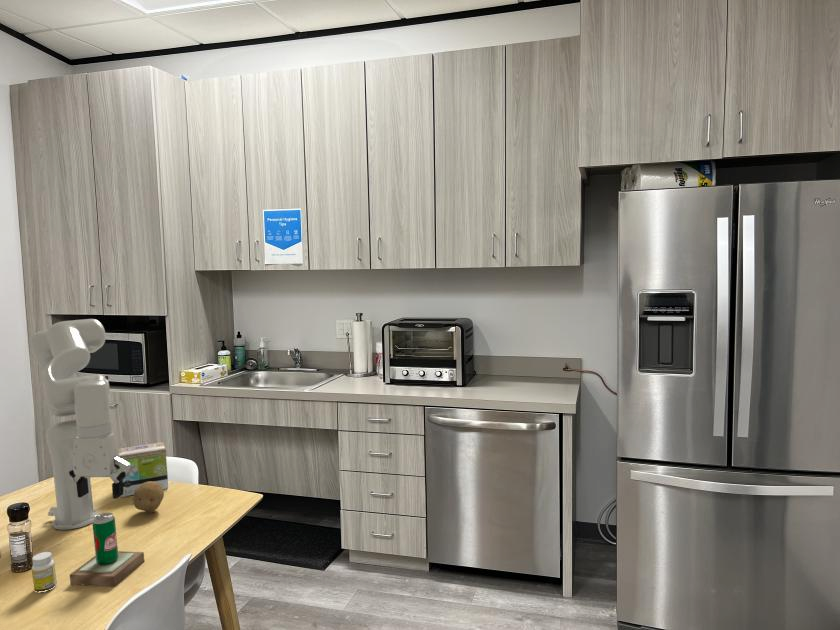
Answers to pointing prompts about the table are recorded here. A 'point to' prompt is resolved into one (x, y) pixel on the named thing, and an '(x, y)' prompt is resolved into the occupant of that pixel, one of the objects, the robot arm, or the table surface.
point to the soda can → (105, 538)
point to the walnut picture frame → (107, 570)
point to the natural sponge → (148, 496)
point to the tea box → (144, 466)
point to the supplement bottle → (43, 572)
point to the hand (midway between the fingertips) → (100, 495)
